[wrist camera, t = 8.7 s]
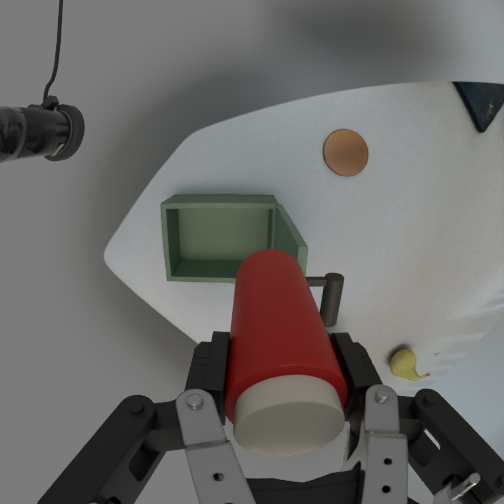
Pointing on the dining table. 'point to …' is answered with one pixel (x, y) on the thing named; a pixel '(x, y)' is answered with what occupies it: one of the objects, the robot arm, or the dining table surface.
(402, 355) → the fruit
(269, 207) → the chest
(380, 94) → the dining table surface
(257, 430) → the sauce bottle
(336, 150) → the disc
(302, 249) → the chest lid
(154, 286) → the dining table surface
